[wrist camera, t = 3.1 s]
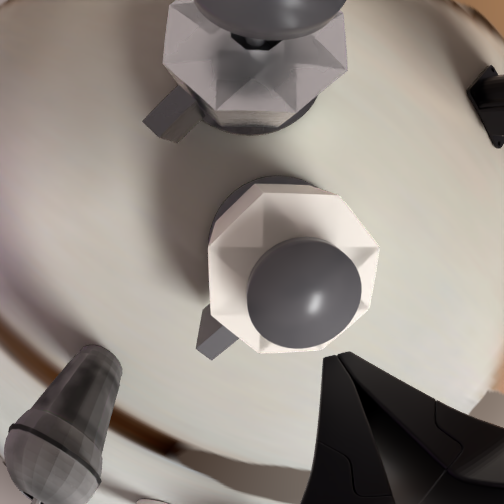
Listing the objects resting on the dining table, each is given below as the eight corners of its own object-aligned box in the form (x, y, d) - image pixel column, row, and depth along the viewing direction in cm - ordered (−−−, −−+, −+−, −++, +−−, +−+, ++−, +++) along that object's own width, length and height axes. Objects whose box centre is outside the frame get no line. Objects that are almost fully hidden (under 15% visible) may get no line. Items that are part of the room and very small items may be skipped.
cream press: (281, 146, 18) (304, 139, 12) (365, 244, 20) (411, 277, 14) (162, 265, 20) (134, 308, 14) (254, 343, 22) (261, 401, 16)
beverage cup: (59, 361, 22) (-29, 516, 3) (82, 316, 21) (-43, 509, 2) (118, 402, 24) (66, 572, 5) (150, 365, 23) (92, 585, 4)
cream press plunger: (286, 197, 17) (314, 216, 11) (338, 254, 18) (380, 296, 12) (225, 255, 17) (221, 302, 12) (280, 306, 19) (299, 365, 13)
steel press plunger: (256, -13, 10) (269, -85, 4) (326, 45, 11) (377, -11, 6) (183, 39, 11) (154, -26, 5) (255, 101, 12) (271, 57, 6)
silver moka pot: (251, -5, 14) (258, -57, 8) (345, 79, 17) (389, 51, 10) (129, 96, 16) (87, 72, 10) (225, 187, 19) (220, 199, 12)
